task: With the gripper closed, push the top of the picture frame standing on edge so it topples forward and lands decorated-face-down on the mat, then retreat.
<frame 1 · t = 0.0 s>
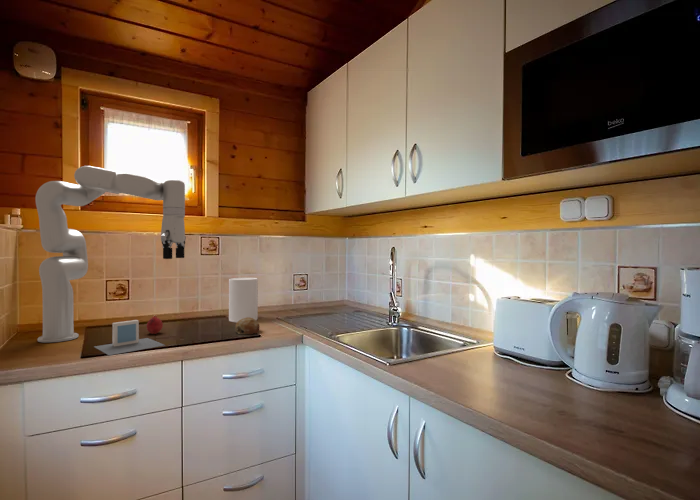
hand: (174, 258, 150), 31 cm above the countertop, tool pointing down, fingers open, 9 cm apart
bread roll: (247, 332, 167), on the countertop
picture frame: (125, 343, 143), point 1 cm above the countertop, touching mat
onion: (154, 335, 160), on the countertop
canister: (243, 319, 194), on the countertop
mat: (129, 347, 140), on the countertop
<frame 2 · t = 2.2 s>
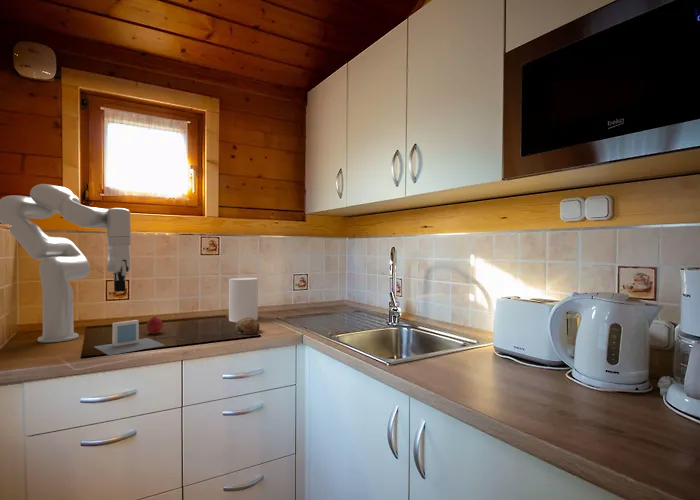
hand: (119, 291, 147), 19 cm above the countertop, tool pointing down, fingers closed
nothing on the countertop moved.
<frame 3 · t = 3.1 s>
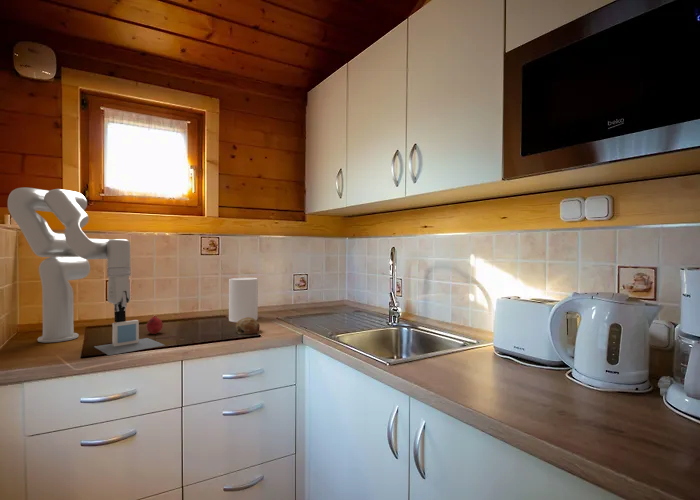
hand: (120, 321, 147), 8 cm above the countertop, tool pointing down, fingers closed
nothing on the countertop moved.
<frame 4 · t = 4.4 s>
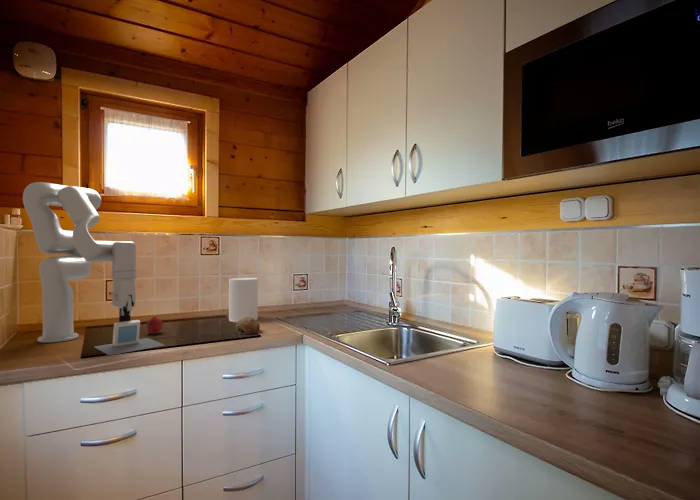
hand: (124, 326, 144), 7 cm above the countertop, tool pointing down, fingers closed
picture frame: (125, 343, 143), point 1 cm above the countertop, tilted 11°, touching mat
everything else where it was.
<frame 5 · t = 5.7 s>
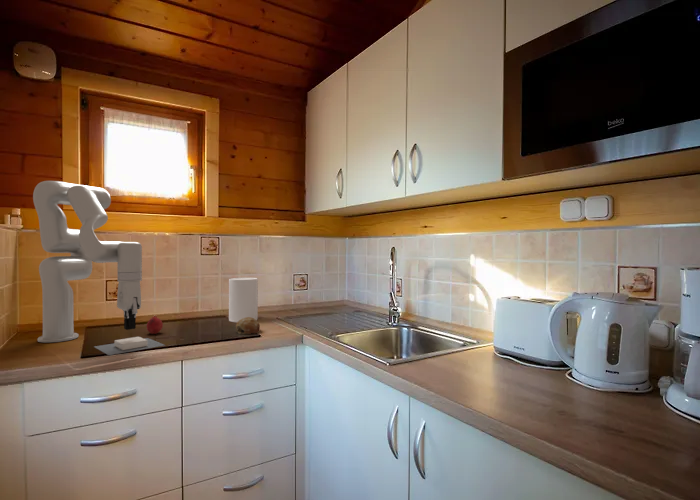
hand: (129, 328, 140), 7 cm above the countertop, tool pointing down, fingers closed
picture frame: (126, 341, 142), point 2 cm above the countertop, tilted 90°, touching mat
everything else where it was.
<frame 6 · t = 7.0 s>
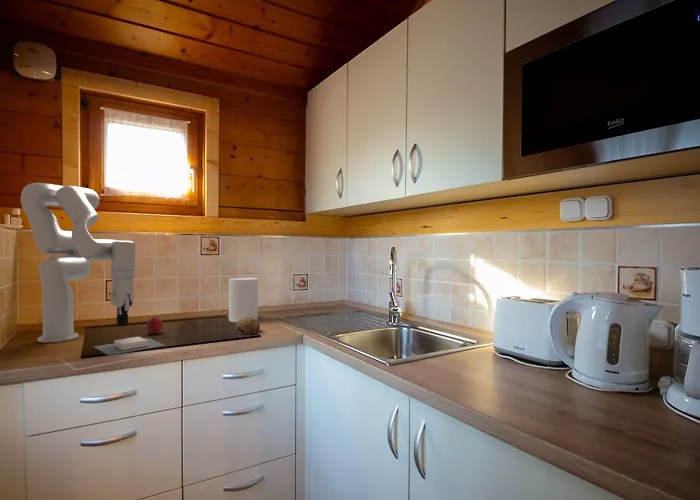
hand: (122, 324, 144), 7 cm above the countertop, tool pointing down, fingers closed
nothing on the countertop moved.
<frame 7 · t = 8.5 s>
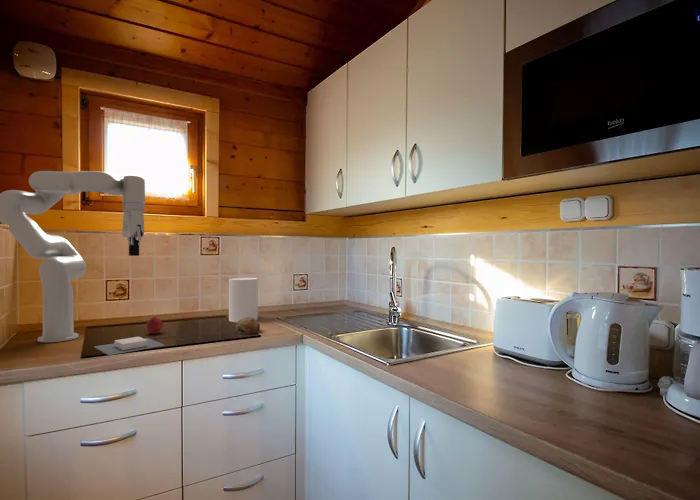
hand: (134, 255, 153), 32 cm above the countertop, tool pointing down, fingers closed
nothing on the countertop moved.
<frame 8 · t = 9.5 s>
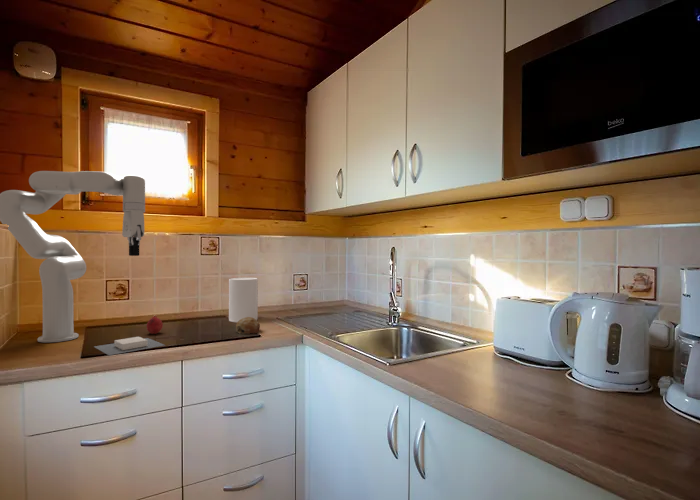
hand: (134, 255, 153), 32 cm above the countertop, tool pointing down, fingers closed
nothing on the countertop moved.
at the end: picture frame tilted 90°; picture frame inside the target area on the mat (2.9 cm from its centre), point 1.7 cm above the mat's base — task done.
